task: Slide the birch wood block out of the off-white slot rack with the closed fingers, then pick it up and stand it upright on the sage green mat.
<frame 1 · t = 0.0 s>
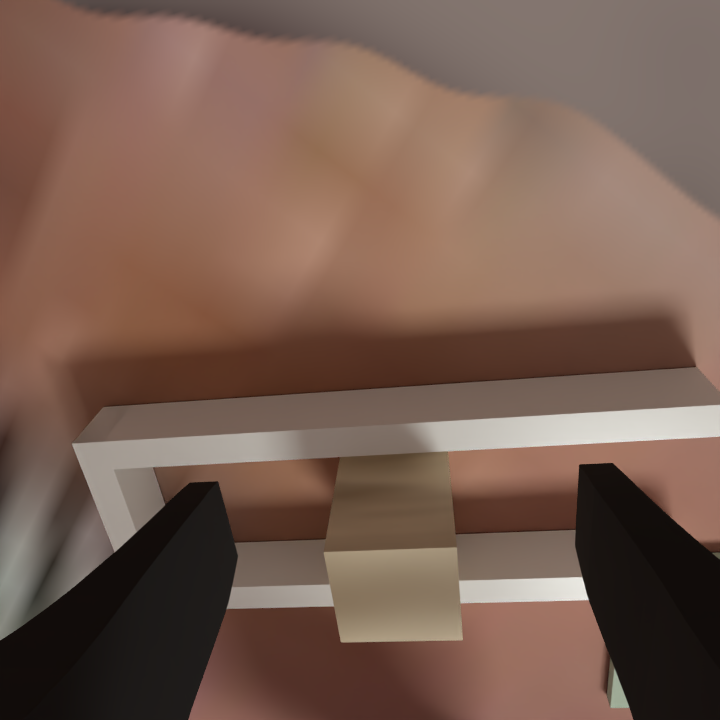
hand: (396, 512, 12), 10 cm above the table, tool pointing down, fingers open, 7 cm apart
slot rack: (393, 479, 24), on the table
birch block: (398, 478, 24), resting in slot rack
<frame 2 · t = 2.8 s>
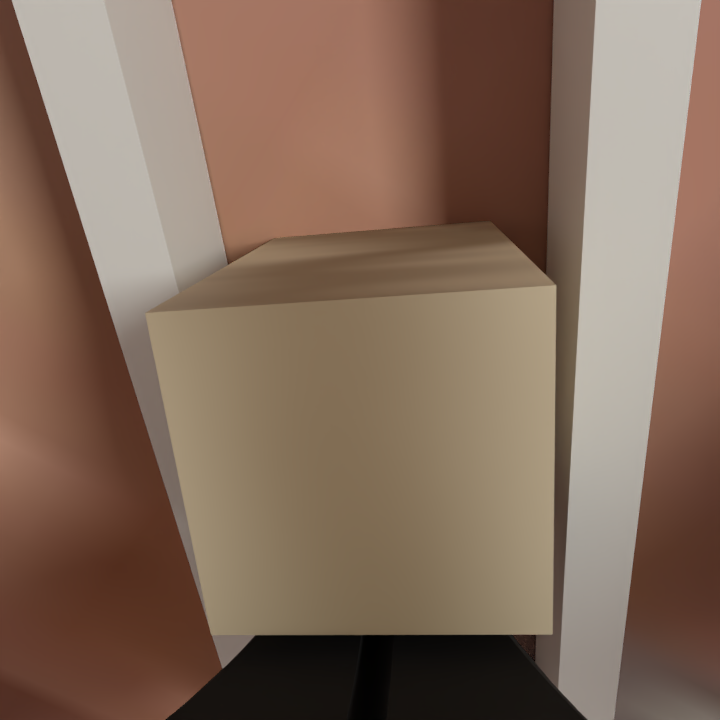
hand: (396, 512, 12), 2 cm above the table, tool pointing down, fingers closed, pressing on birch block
slot rack: (390, 339, 12), on the table
birch block: (388, 329, 12), resting in slot rack, tilted 8°, touching gripper
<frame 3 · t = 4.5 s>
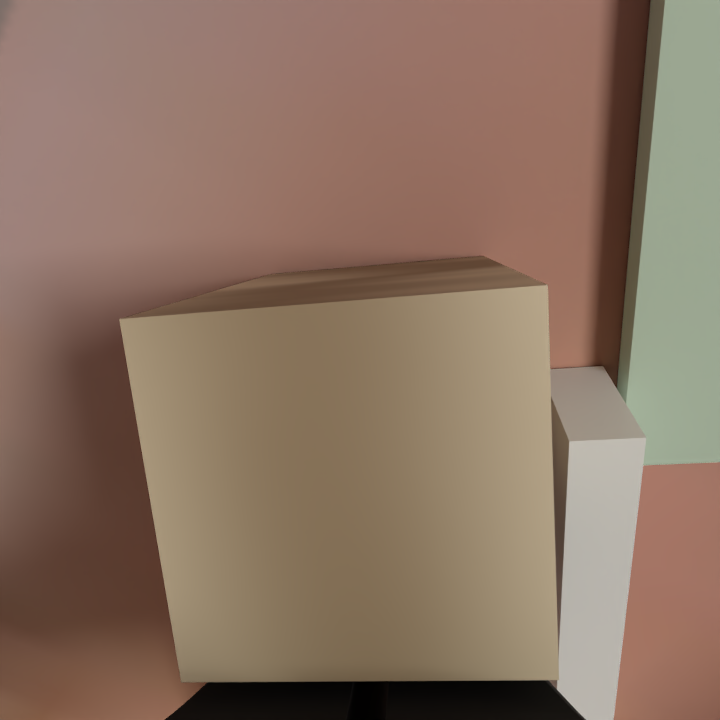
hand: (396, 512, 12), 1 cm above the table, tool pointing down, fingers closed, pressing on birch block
slot rack: (424, 717, 17), on the table
birch block: (383, 368, 12), point 1 cm above the table, tilted 15°, touching gripper
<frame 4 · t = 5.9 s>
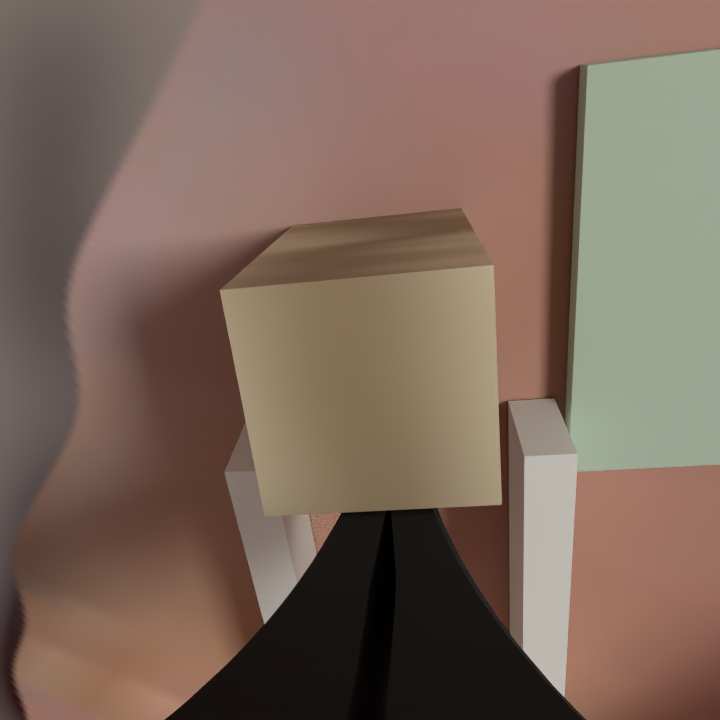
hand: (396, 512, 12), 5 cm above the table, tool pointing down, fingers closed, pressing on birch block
slot rack: (423, 673, 22), on the table
birch block: (383, 298, 15), on the table, tilted 6°, touching gripper
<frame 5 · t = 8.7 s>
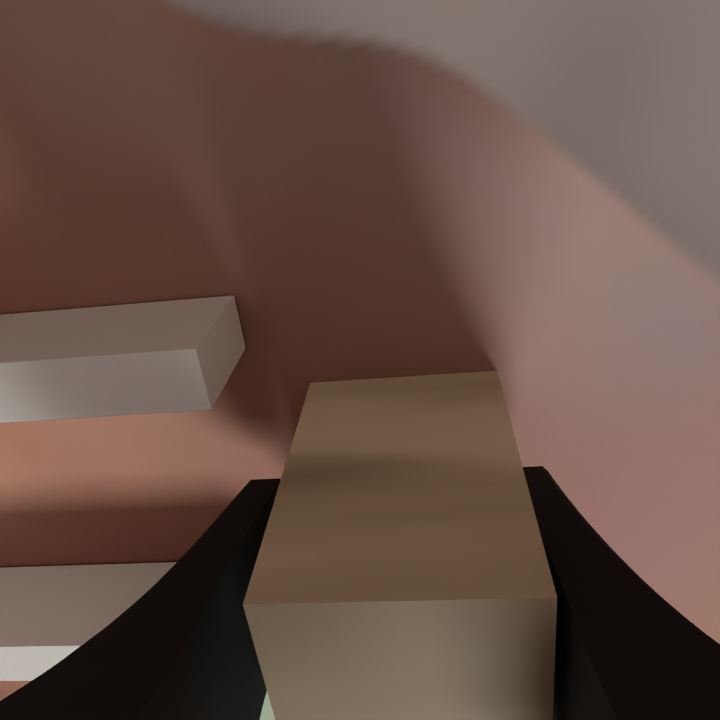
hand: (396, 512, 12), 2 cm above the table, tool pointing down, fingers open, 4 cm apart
birch block: (409, 453, 14), on the table, touching gripper
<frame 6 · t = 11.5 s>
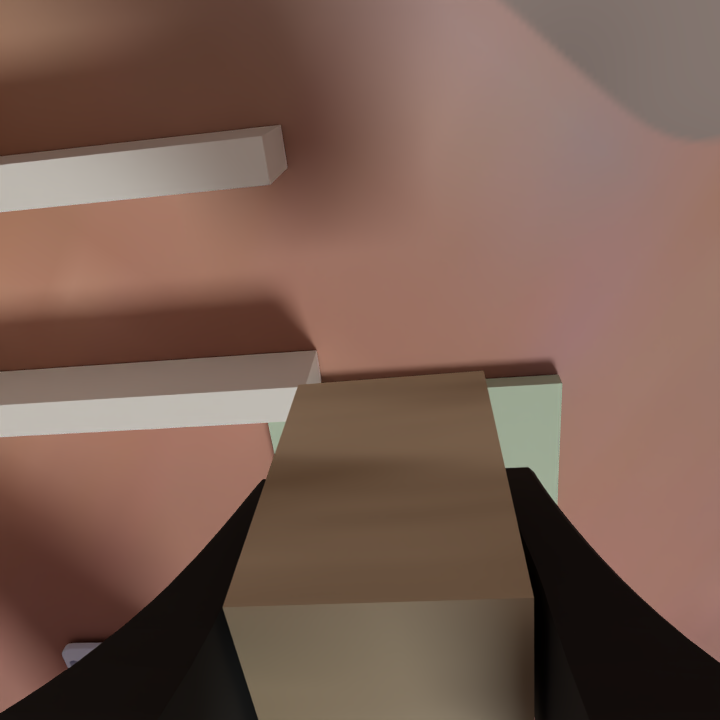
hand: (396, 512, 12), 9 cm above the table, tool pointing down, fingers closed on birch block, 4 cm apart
birch block: (398, 454, 14), point 7 cm above the table, touching gripper
sage mat: (417, 487, 23), on the table
when the fingers open (4 cm above the table, at t = 14.0 s): birch block drops 1 cm, resting on sage mat.
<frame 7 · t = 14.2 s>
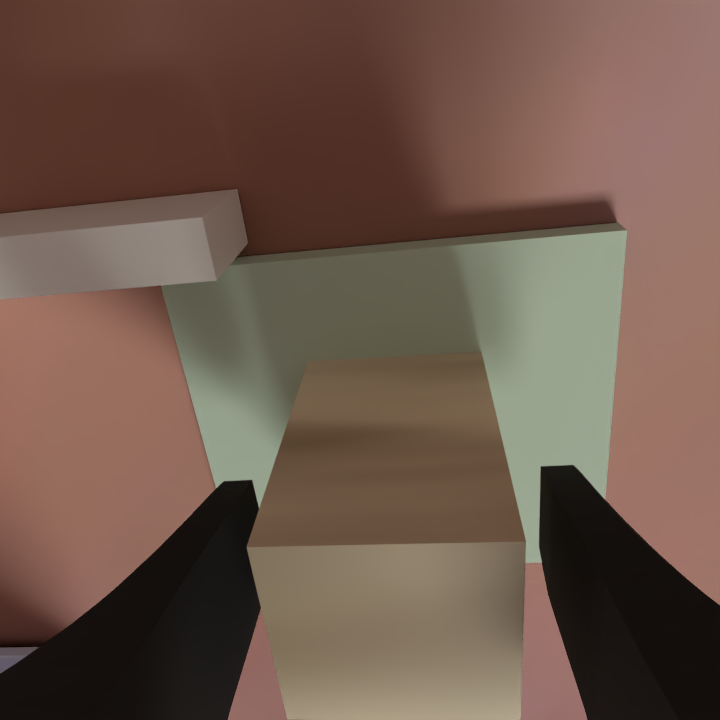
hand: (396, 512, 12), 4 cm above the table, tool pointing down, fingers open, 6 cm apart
birch block: (399, 429, 15), point 1 cm above the table, touching sage mat
sage mat: (399, 416, 15), on the table
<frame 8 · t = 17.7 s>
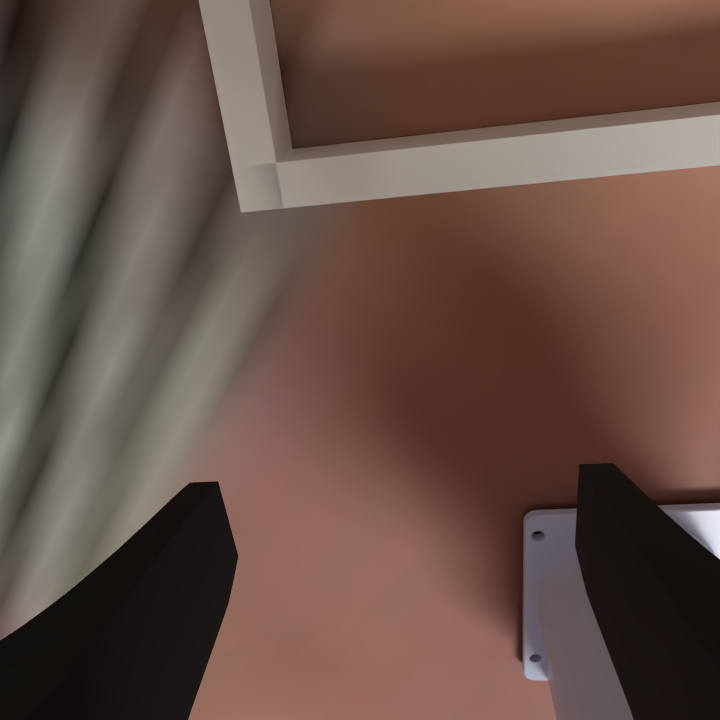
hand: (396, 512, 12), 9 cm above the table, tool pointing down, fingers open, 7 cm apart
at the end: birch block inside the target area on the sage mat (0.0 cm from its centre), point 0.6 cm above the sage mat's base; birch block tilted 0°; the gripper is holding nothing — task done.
